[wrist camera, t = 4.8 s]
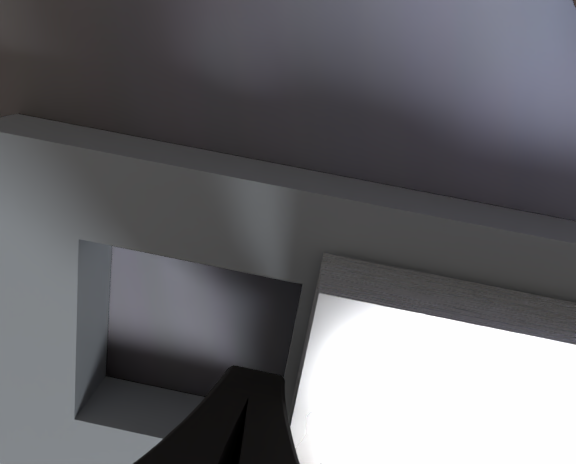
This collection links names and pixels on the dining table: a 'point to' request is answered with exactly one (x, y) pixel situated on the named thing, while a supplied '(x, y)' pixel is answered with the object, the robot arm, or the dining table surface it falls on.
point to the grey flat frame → (205, 250)
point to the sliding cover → (433, 371)
